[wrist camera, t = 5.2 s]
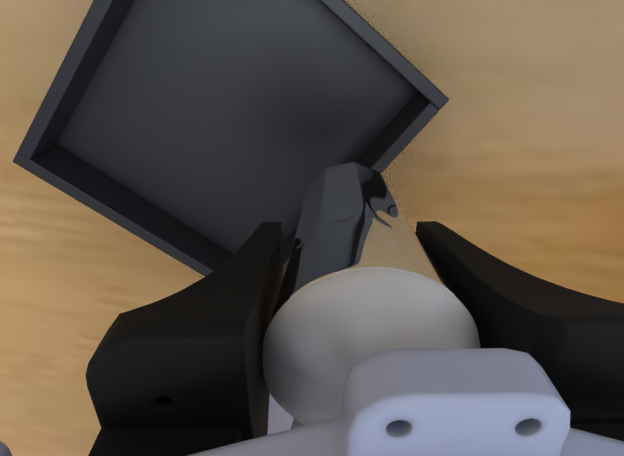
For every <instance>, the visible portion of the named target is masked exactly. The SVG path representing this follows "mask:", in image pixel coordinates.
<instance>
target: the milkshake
mask: <svg viewBox="0 0 624 456" xmlns="http://www.w3.org/2000/svg"><path fill="white" fill-rule="evenodd" d="M394 349H480V340H479V335H478V330H477V327H476V324H475V322H474V320H473V318H472V316H471V314H470V313H469V311H468V310H467V309H466V307H465V306H464V304H463V303H462V301H461V300H460V298H459V296H458V295H457V293H456V292H455V290H454V289H453V287H452V286H451V284H450V283H449V281H448V280H447V278H446V277H445V275H444V274H443V272H442V271H441V269H440V268H439V266H438V265H437V263H436V262H435V260H434V259H433V257H432V256H431V254H430V253H429V252H428V250H427V249H426V247H425V246H424V245H423V243H422V242H421V241H420V239H419V238H418V236H417V235H416V234H415V232H414V231H413V229H412V227H411V225H410V224H409V222H408V220H407V218H406V217H405V215H404V213H403V211H402V210H401V208H400V206H399V204H398V202H397V201H396V199H395V197H394V196H393V194H392V192H391V191H390V189H389V187H388V186H387V184H386V182H385V180H384V179H383V177H382V175H381V174H380V172H378V171H376V170H373V169H370V168H368V167H365V166H363V165H360V164H358V163H355V162H350V163H346V164H342V165H338V166H333V167H329V168H326V169H325V170H324V171H323V172H322V173H321V174H320V175H319V176H318V178H317V179H316V180H315V181H314V182H313V183H312V184H311V185H310V186H309V188H308V189H307V192H306V196H305V200H304V204H303V208H302V212H301V215H300V219H299V223H298V227H297V231H296V235H295V239H294V243H293V247H292V251H291V254H290V258H289V262H288V265H287V268H286V272H285V275H284V278H283V281H282V284H281V288H280V291H279V294H278V297H277V300H276V303H275V307H274V310H273V313H272V316H271V319H270V323H269V326H268V328H267V331H266V333H265V336H264V341H263V349H262V364H263V374H264V379H265V383H266V386H267V388H268V390H269V392H270V394H271V395H272V397H273V398H274V399H275V401H276V402H277V403H278V404H279V405H280V406H281V407H282V408H283V409H284V410H285V411H286V412H287V413H289V414H290V415H291V416H292V417H293V418H294V420H293V423H292V426H291V429H293V428H297V427H301V426H305V425H309V424H313V423H317V422H321V421H325V420H329V419H333V418H336V417H337V416H339V414H340V413H341V410H342V406H343V396H344V384H345V382H346V380H347V378H348V375H349V373H350V371H351V368H352V367H354V366H355V365H357V364H358V363H359V362H361V361H362V360H364V359H365V358H366V357H368V356H369V355H371V354H375V353H379V352H384V351H389V350H394Z"/></svg>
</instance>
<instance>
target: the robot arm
mask: <svg viewBox="0 0 624 456" xmlns="http://www.w3.org/2000/svg"><path fill="white" fill-rule="evenodd" d="M416 235H417V236H418V238H419V239H420V241H421V242H422V243H423V245H424V246H425V247H426V249H427V250H428V252H429V253H430V254H431V256H432V257H433V259H434V260H435V262H436V263H437V265H438V266H439V268H440V269H441V271H442V272H443V274H444V275H445V277H446V278H447V280H448V281H449V283H450V284H451V286H452V287H453V289H454V290H455V292H456V293H457V295H458V296H459V298H460V300H461V301H462V303H463V304H464V306H465V307H466V309H467V310H468V311H469V313H470V314H471V316H472V318H473V320H474V322H475V324H476V327H477V330H478V335H479V340H480V349H394V350H389V351H384V352H379V353H375V354H371V355H369V356H368V357H366V358H365V359H364V360H362V361H361V362H359V363H358V364H357V365H355V366H354V367H352V368H351V371H350V373H349V375H348V378H347V380H346V382H345V384H344V396H343V406H342V410H341V413H340V414H339V416H337V417H336V418H333V419H329V420H325V421H321V422H317V423H313V424H309V425H305V426H301V427H297V428H293V429H291V426H292V423H293V420H294V418H293V417H292V416H291V415H290V414H289V413H287V412H286V411H285V410H284V409H283V408H282V407H281V406H280V405H279V404H278V403H277V402H276V401H275V399H274V398H273V397H272V395H271V394H270V392H269V390H268V388H267V386H266V383H265V379H264V374H263V364H262V349H263V341H264V336H265V333H266V331H267V328H268V326H269V323H270V319H271V316H272V313H273V310H274V307H275V303H276V300H277V297H278V294H279V291H280V288H281V284H282V281H283V248H282V222H262V223H261V224H260V225H259V226H258V227H257V229H256V230H255V231H254V232H253V233H252V235H251V236H250V237H249V238H248V239H247V240H246V242H245V243H244V244H243V245H242V246H241V247H240V248H239V249H238V250H237V251H236V252H235V253H234V254H233V255H232V256H231V257H230V258H229V259H228V260H227V261H225V262H224V263H223V264H222V265H221V266H220V267H218V268H217V269H216V270H214V271H213V272H211V273H210V274H209V275H207V276H206V277H204V278H203V279H201V280H199V281H197V282H196V283H194V284H192V285H190V286H189V287H187V288H185V289H183V290H181V291H179V292H177V293H175V294H173V295H171V296H169V297H166V298H164V299H162V300H159V301H157V302H154V303H151V304H149V305H146V306H143V307H140V308H137V309H134V310H130V311H127V312H124V313H121V314H119V315H118V317H117V318H116V320H115V321H114V322H113V324H112V325H111V326H110V328H109V329H108V331H107V333H106V334H105V336H104V337H103V339H102V341H101V343H100V344H99V346H98V348H97V349H96V351H95V353H94V355H93V356H92V358H91V360H90V361H89V363H88V367H87V372H86V380H87V387H88V390H89V393H90V396H91V399H92V402H93V405H94V408H95V411H96V414H97V417H98V420H99V422H100V425H101V430H100V432H99V434H98V436H97V439H96V441H95V443H94V445H93V447H92V449H91V451H90V453H89V456H624V304H623V303H619V302H614V301H610V300H606V299H602V298H598V297H595V296H591V295H587V294H584V293H580V292H577V291H574V290H571V289H567V288H565V287H562V286H559V285H556V284H553V283H551V282H548V281H545V280H543V279H540V278H537V277H535V276H533V275H530V274H528V273H526V272H524V271H522V270H519V269H517V268H515V267H513V266H511V265H509V264H507V263H505V262H503V261H501V260H500V259H498V258H496V257H494V256H492V255H490V254H489V253H487V252H485V251H484V250H482V249H480V248H479V247H477V246H475V245H474V244H472V243H471V242H469V241H467V240H466V239H464V238H463V237H461V236H460V235H458V234H457V233H455V232H454V231H452V230H450V229H449V228H447V227H446V226H444V225H442V224H440V223H438V222H417V227H416ZM0 456H12V454H11V452H10V450H9V448H8V447H7V446H6V445H5V444H4V443H3V442H1V441H0Z"/></svg>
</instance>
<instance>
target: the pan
mask: <svg viewBox="0 0 624 456" xmlns="http://www.w3.org/2000/svg"><path fill="white" fill-rule="evenodd" d="M448 101H449V98H447V97H446V96H445V95H444V94H443V93H442V92H441V91H440V90H439V89H438V88H437V87H436V86H435V85H434V84H433V83H431V82H430V81H429V80H428V79H427V78H426V77H425V76H424V75H423V74H422V73H421V72H420V71H419V70H418V69H417V68H416V67H414V66H413V65H412V64H411V63H410V62H409V61H408V60H407V59H406V58H405V57H404V56H403V55H402V54H401V53H400V52H398V51H397V50H396V49H395V48H394V47H393V46H392V45H391V44H390V43H389V42H388V41H387V40H386V39H385V38H384V37H382V36H381V35H380V34H379V33H378V32H377V31H376V30H375V29H374V28H373V27H372V26H371V25H370V24H369V23H368V22H367V21H365V20H364V19H363V18H362V17H361V16H360V15H359V14H358V13H357V12H356V11H355V10H354V9H353V8H352V7H351V6H349V5H348V4H347V3H346V2H345V1H344V0H94V1H93V3H92V5H91V7H90V9H89V11H88V13H87V15H86V17H85V19H84V21H83V23H82V25H81V27H80V29H79V31H78V33H77V35H76V37H75V39H74V41H73V43H72V45H71V47H70V49H69V51H68V53H67V55H66V57H65V59H64V60H63V62H62V64H61V66H60V68H59V70H58V72H57V74H56V76H55V78H54V80H53V82H52V84H51V86H50V88H49V90H48V92H47V94H46V96H45V98H44V100H43V102H42V104H41V106H40V108H39V110H38V112H37V114H36V116H35V118H34V120H33V122H32V124H31V126H30V128H29V130H28V132H27V134H26V136H25V138H24V140H23V142H22V144H21V146H20V148H19V150H18V152H17V154H16V156H15V158H14V160H13V162H14V163H16V164H17V165H19V166H21V167H22V168H24V169H26V170H27V171H29V172H31V173H33V174H34V175H36V176H38V177H39V178H41V179H43V180H44V181H46V182H48V183H49V184H51V185H53V186H54V187H56V188H58V189H59V190H61V191H63V192H64V193H66V194H68V195H69V196H71V197H73V198H74V199H76V200H78V201H79V202H81V203H83V204H84V205H86V206H88V207H90V208H91V209H93V210H95V211H96V212H98V213H100V214H101V215H103V216H105V217H106V218H108V219H110V220H111V221H113V222H115V223H116V224H118V225H120V226H121V227H123V228H125V229H126V230H128V231H130V232H131V233H133V234H135V235H136V236H138V237H140V238H141V239H143V240H145V241H146V242H148V243H150V244H152V245H153V246H155V247H157V248H158V249H160V250H162V251H163V252H165V253H167V254H168V255H170V256H172V257H173V258H175V259H177V260H178V261H180V262H182V263H183V264H185V265H187V266H188V267H190V268H192V269H193V270H195V271H197V272H198V273H200V274H202V275H203V276H205V277H206V276H207V275H209V274H210V273H211V272H213V271H214V270H216V269H217V268H218V267H220V266H221V265H222V264H223V263H224V262H225V261H227V260H228V259H229V258H230V257H231V256H232V255H233V254H234V253H235V252H236V251H237V250H238V249H239V248H240V247H241V246H242V245H243V244H244V243H245V242H246V240H247V239H248V238H249V237H250V236H251V235H252V233H253V232H254V231H255V230H256V229H257V227H258V226H259V225H260V224H261V223H262V222H282V248H283V278H284V275H285V272H286V268H287V265H288V262H289V258H290V254H291V251H292V247H293V243H294V239H295V235H296V231H297V227H298V223H299V219H300V215H301V212H302V208H303V204H304V200H305V196H306V192H307V189H308V188H309V186H310V185H311V184H312V183H313V182H314V181H315V180H316V179H317V178H318V176H319V175H320V174H321V173H322V172H323V171H324V170H325V169H326V168H329V167H333V166H338V165H342V164H346V163H350V162H355V163H358V164H360V165H363V166H365V167H368V168H370V169H373V170H376V171H378V172H380V174H381V173H382V172H383V171H384V170H385V168H386V167H387V166H388V165H389V164H390V163H391V162H392V161H393V160H394V159H395V158H396V157H397V156H398V154H399V153H400V152H401V151H402V150H403V149H404V148H405V147H406V146H407V145H408V144H409V143H410V142H411V140H412V139H413V138H414V137H415V136H416V135H417V134H418V133H419V132H420V131H421V130H422V129H423V127H424V126H425V125H426V124H427V123H428V122H429V121H430V120H431V119H432V118H433V117H434V116H435V115H436V113H437V112H438V111H439V110H440V109H441V108H442V107H443V106H444V105H445V104H446V103H447V102H448Z"/></svg>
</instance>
